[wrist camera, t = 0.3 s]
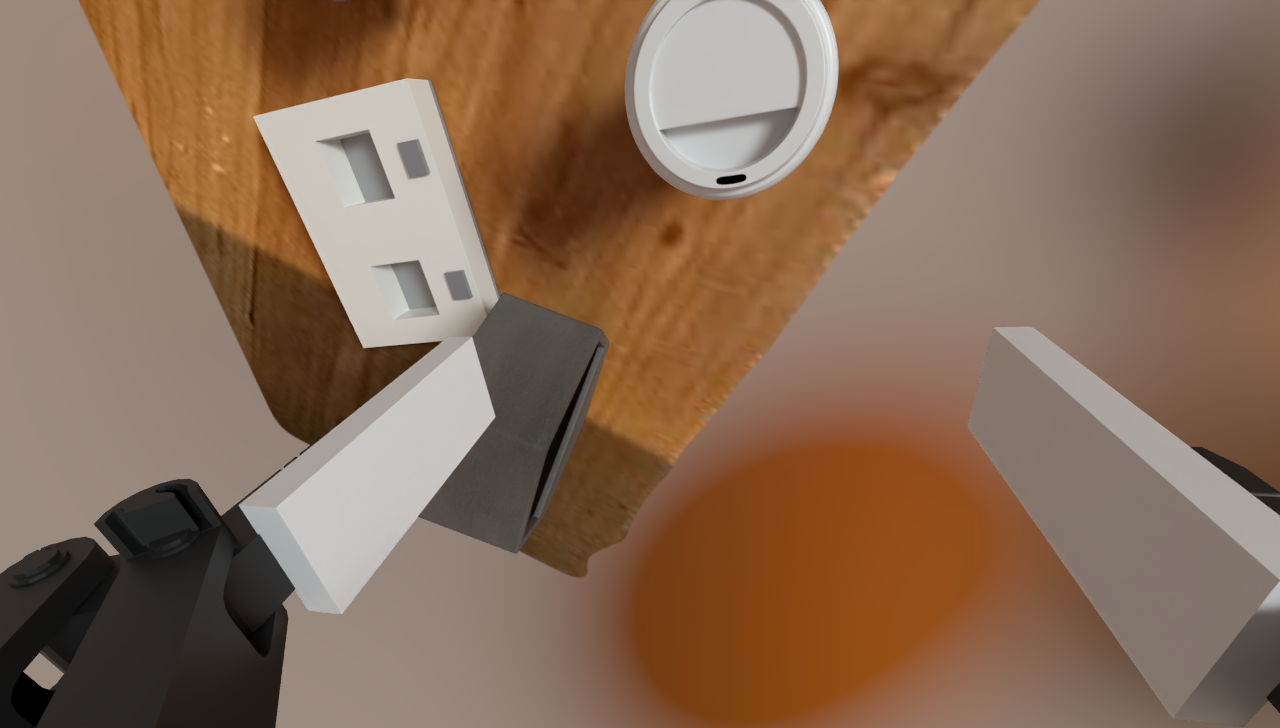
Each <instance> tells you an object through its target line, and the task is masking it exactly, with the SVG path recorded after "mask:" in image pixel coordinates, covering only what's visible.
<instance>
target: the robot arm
mask: <svg viewBox="0 0 1280 728" xmlns="http://www.w3.org/2000/svg"><path fill="white" fill-rule="evenodd" d="M494 418H495V413H494V410H493V407H492V403H491V400H490V396H489V393H488V389H487V386H486V383H485V379H484V376H483V372H482V369H481V366H480V362H479V359H478V355H477V352H476V348H475V345H474V342H473V338H472V337H448V338H446V339H445V340H444V341H443V342H441V343H440V344H439V345H438V346H436V347H435V348H434V349H433V350H431V351H430V352H429V353H428V354H426V355H425V356H424V357H423V358H421V359H420V360H419V361H418V362H416V363H415V364H414V365H413V366H411V367H410V368H409V369H408V370H406V371H405V372H404V373H403V374H401V375H400V376H399V377H398V378H396V379H395V380H394V381H393V382H391V383H390V384H389V385H388V386H386V387H385V388H384V389H383V390H381V391H380V392H379V393H378V394H376V395H375V396H374V397H373V398H371V399H370V400H369V401H368V402H366V403H365V404H364V405H363V406H361V407H360V408H359V409H358V410H356V411H355V412H354V413H353V414H351V415H350V416H349V417H348V418H346V419H345V420H344V421H343V422H341V423H340V424H339V425H338V426H336V427H335V428H334V429H333V430H331V431H330V432H329V433H328V434H326V435H324V436H323V437H321V438H319V439H318V440H316V441H315V442H314V443H313V444H311V445H310V446H309V447H308V448H306V449H305V450H304V451H303V452H301V453H300V456H299V457H295V458H294V459H292V460H291V461H290V462H289V463H287V464H286V465H285V466H284V469H283V470H279V471H277V472H276V473H275V474H274V475H272V476H271V477H270V478H269V479H268V480H266V481H265V482H264V483H262V484H261V485H260V486H259V487H257V488H256V489H255V490H254V491H252V492H251V493H250V494H248V495H247V496H246V497H245V498H243V499H242V500H241V501H240V502H238V503H237V504H236V505H235V506H233V507H232V508H231V509H230V510H228V511H227V512H226V513H225V514H223V515H222V516H220V515H219V513H218V512H217V510H216V509H215V508H214V506H213V505H212V503H211V502H210V500H209V499H208V497H207V496H206V495H205V493H204V492H203V490H202V489H201V487H200V486H199V485H198V483H197V482H195V481H193V480H191V479H177V480H173V481H169V482H165V483H161V484H158V485H155V486H153V487H150V488H148V489H145V490H143V491H140V492H138V493H136V494H134V495H132V496H131V497H129V498H127V499H125V500H123V501H121V502H120V503H118V504H117V505H115V506H114V507H112V508H111V509H110V510H108V511H107V512H105V513H104V514H103V515H102V516H101V517H100V518H99V519H98V521H96V522H95V523H94V525H95V526H96V527H97V528H98V529H99V530H100V532H101V533H102V534H103V535H104V536H105V537H106V538H107V540H108V541H109V542H110V543H111V544H112V545H113V547H114V548H115V549H116V550H117V551H118V552H119V553H120V554H119V555H113V556H108V555H107V553H106V552H105V551H104V550H103V549H102V548H101V547H100V546H99V545H98V543H97V542H96V541H95V540H94V539H91V538H87V537H81V538H73V539H69V540H66V541H63V542H60V543H56V544H51V545H48V546H46V547H43V548H41V550H40V551H39V550H36V551H34V552H32V553H30V554H28V555H27V556H25V557H24V558H23V559H22V560H21V561H19V562H17V563H16V564H14V565H12V566H11V567H9V568H8V569H6V570H5V571H4V572H3V573H1V574H0V728H275V725H276V716H277V708H278V700H279V691H280V684H281V675H282V667H283V659H284V649H285V642H286V634H287V625H288V615H287V610H286V609H285V608H284V606H283V605H282V603H283V602H284V601H285V600H286V598H287V597H288V596H289V595H290V594H291V593H292V592H293V591H294V590H295V591H296V593H297V594H298V596H299V597H300V599H301V600H302V602H303V603H304V605H305V606H306V607H307V609H308V610H311V611H318V612H326V613H335V614H342V613H343V612H344V611H345V609H346V608H347V607H348V605H349V604H350V603H351V601H352V600H353V599H354V598H355V597H356V595H357V594H358V593H359V591H360V590H361V589H362V587H363V586H364V585H365V584H366V582H367V581H368V580H369V579H370V577H371V576H372V574H373V573H374V572H375V571H376V570H377V568H378V567H379V566H380V564H381V563H382V562H383V561H384V559H385V558H386V557H387V555H388V554H389V553H390V552H391V550H392V549H393V548H394V546H395V545H396V544H397V543H398V541H399V540H400V539H401V537H402V536H403V535H404V534H405V532H406V531H407V530H408V528H409V527H410V526H411V525H412V523H413V522H414V521H415V520H416V518H417V517H418V516H419V514H420V513H421V512H422V511H423V509H424V508H425V507H426V505H427V504H428V503H429V502H430V500H431V499H432V498H433V496H434V495H435V494H436V493H437V491H438V490H439V489H440V487H441V486H442V485H443V484H444V482H445V481H446V480H447V478H448V477H449V476H450V475H451V473H452V472H453V471H454V470H455V468H456V467H457V466H458V464H459V463H460V462H461V461H462V459H463V458H464V457H465V455H466V454H467V453H468V452H469V450H470V449H471V448H472V446H473V445H474V444H475V443H476V441H477V440H478V439H479V437H480V436H481V435H482V434H483V432H484V431H485V430H486V428H487V427H488V426H489V425H490V423H491V422H492V421H493V419H494ZM967 427H968V429H969V430H970V432H971V433H972V434H973V436H974V437H975V439H976V440H977V441H978V443H979V444H980V446H981V447H982V449H983V450H984V451H985V453H986V454H987V455H988V457H989V459H990V460H991V461H992V463H993V464H994V466H995V467H996V468H997V470H998V471H999V473H1000V474H1001V476H1002V477H1003V478H1004V480H1005V481H1006V483H1007V484H1008V486H1009V487H1010V488H1011V489H1012V491H1013V493H1014V494H1015V495H1016V497H1017V498H1018V499H1019V501H1020V502H1021V504H1022V505H1023V507H1024V508H1025V510H1026V511H1027V513H1028V514H1029V515H1030V517H1031V518H1032V520H1033V521H1034V522H1035V524H1036V525H1037V527H1038V528H1039V530H1040V531H1041V532H1042V534H1043V535H1044V537H1045V538H1046V540H1047V541H1048V542H1049V544H1050V545H1051V547H1052V548H1053V549H1054V551H1055V552H1056V554H1057V555H1058V557H1059V558H1060V559H1061V561H1062V562H1063V564H1064V565H1065V566H1066V568H1067V569H1068V571H1069V572H1070V574H1071V575H1072V576H1073V578H1074V579H1075V580H1076V582H1077V583H1078V585H1079V586H1080V588H1081V589H1082V591H1083V592H1084V593H1085V595H1086V596H1087V598H1088V599H1089V601H1090V602H1091V603H1092V605H1093V606H1094V608H1095V609H1096V610H1097V612H1098V613H1099V615H1100V616H1101V618H1102V619H1103V620H1104V622H1105V623H1106V625H1107V626H1108V627H1109V629H1110V630H1111V632H1112V633H1113V635H1114V636H1115V637H1116V639H1117V640H1118V642H1119V643H1120V645H1121V646H1122V647H1123V649H1124V650H1125V652H1126V653H1127V654H1128V656H1129V657H1130V659H1131V660H1132V662H1133V663H1134V664H1135V666H1136V667H1137V669H1138V670H1139V671H1140V673H1141V674H1142V676H1143V677H1144V679H1145V680H1146V681H1147V683H1148V684H1149V686H1150V687H1151V689H1152V690H1153V691H1154V693H1155V694H1156V696H1157V697H1158V698H1159V700H1160V701H1161V703H1162V704H1163V706H1164V707H1165V708H1166V710H1167V711H1168V712H1169V714H1170V715H1171V717H1172V718H1175V719H1183V720H1191V721H1200V722H1207V723H1216V724H1223V725H1231V726H1239V727H1244V726H1245V725H1246V724H1247V723H1248V722H1249V721H1250V719H1251V718H1252V717H1253V716H1254V715H1255V714H1256V713H1257V712H1258V711H1259V710H1260V708H1262V707H1263V705H1264V704H1265V703H1266V702H1267V701H1268V700H1269V701H1270V703H1272V705H1273V706H1274V707H1275V708H1276V709H1277V710H1278V712H1279V713H1280V492H1278V491H1277V490H1276V489H1274V488H1273V487H1271V486H1270V485H1268V484H1267V483H1266V482H1264V481H1263V480H1261V479H1260V478H1259V477H1257V476H1256V475H1254V474H1253V473H1252V472H1250V471H1249V470H1248V469H1246V468H1244V467H1242V466H1240V465H1238V464H1236V463H1234V462H1232V461H1230V460H1228V459H1226V458H1224V457H1221V456H1219V455H1217V454H1215V453H1213V452H1211V451H1209V450H1207V449H1205V448H1203V447H1189V446H1188V445H1186V444H1185V443H1184V442H1182V441H1181V440H1180V439H1179V438H1177V437H1176V436H1175V435H1173V434H1172V433H1171V432H1169V431H1168V430H1167V429H1165V428H1164V427H1163V426H1161V425H1160V424H1159V423H1157V422H1156V421H1155V420H1154V419H1152V418H1151V417H1150V416H1148V415H1147V414H1146V413H1144V412H1143V411H1142V410H1141V409H1139V408H1138V407H1136V406H1135V405H1134V404H1133V403H1131V402H1130V401H1129V400H1127V399H1126V398H1125V397H1123V396H1122V395H1121V394H1119V393H1118V392H1117V391H1116V390H1114V389H1113V388H1111V387H1110V386H1109V385H1108V384H1106V383H1105V382H1104V381H1102V380H1101V379H1100V378H1098V377H1097V376H1096V375H1094V374H1093V373H1092V372H1091V371H1089V370H1088V369H1087V368H1085V367H1084V366H1083V365H1081V364H1080V363H1079V362H1077V361H1076V360H1075V359H1073V358H1072V357H1071V356H1070V355H1068V354H1067V353H1066V352H1064V351H1063V350H1062V349H1060V348H1059V347H1058V346H1056V345H1055V344H1054V343H1052V342H1051V341H1050V340H1049V339H1047V338H1046V337H1045V336H1043V335H1042V334H1041V333H1039V332H1038V331H1037V330H1036V329H1034V328H1033V327H994V328H993V331H992V334H991V338H990V342H989V346H988V350H987V353H986V357H985V361H984V365H983V368H982V372H981V376H980V380H979V383H978V388H977V391H976V395H975V399H974V402H973V407H972V410H971V414H970V418H969V421H968V425H967ZM39 652H40V653H41V654H42V655H43V656H44V657H45V658H47V659H48V660H49V661H50V662H51V663H52V664H54V665H55V666H56V667H57V668H58V669H59V670H60V671H62V672H63V673H64V675H63V676H62V677H61V679H60V680H59V681H58V683H57V684H56V685H54V686H53V687H52V688H51V689H50V690H48V689H45V688H42V687H41V686H40V685H38V684H37V683H36V682H35V681H34V680H32V679H31V678H30V677H28V675H26V674H25V673H24V672H23V671H24V670H25V669H26V667H27V666H28V665H29V664H30V663H31V662H32V661H33V659H34V658H35V657H36V656H37V655H38V654H39Z"/></svg>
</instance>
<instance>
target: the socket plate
mask: <svg viewBox="0 0 1280 728" xmlns="http://www.w3.org/2000/svg"><path fill="white" fill-rule="evenodd" d="M253 118H254V120H255V122H256V124H257V126H258V128H259V130H260V132H261V134H262V136H263V139H264V141H265V143H266V145H267V147H268V149H269V151H270V153H271V155H272V157H273V160H274V162H275V164H276V166H277V168H278V170H279V172H280V174H281V176H282V178H283V180H284V183H285V185H286V187H287V189H288V191H289V193H290V195H291V197H292V199H293V201H294V204H295V206H296V208H297V210H298V212H299V214H300V216H301V218H302V220H303V222H304V224H305V227H306V229H307V231H308V233H309V235H310V237H311V239H312V241H313V243H314V245H315V248H316V250H317V252H318V254H319V256H320V258H321V260H322V262H323V264H324V266H325V269H326V271H327V273H328V275H329V277H330V279H331V281H332V283H333V285H334V287H335V289H336V292H337V294H338V296H339V298H340V300H341V302H342V304H343V306H344V308H345V310H346V313H347V315H348V317H349V319H350V321H351V323H352V325H353V327H354V329H355V331H356V333H357V336H358V338H359V340H360V342H361V344H362V346H363V348H369V347H381V346H392V345H403V344H414V343H425V342H436V341H444V340H445V339H446V338H448V337H473V336H474V334H475V333H476V331H477V330H478V329H479V327H480V326H481V324H482V323H483V321H484V320H485V318H486V317H487V316H488V314H489V313H490V311H491V310H492V308H493V307H494V305H495V304H496V303H497V301H498V300H499V298H500V296H499V293H498V290H497V287H496V283H495V280H494V277H493V274H492V271H491V268H490V265H489V261H488V258H487V255H486V252H485V249H484V246H483V243H482V239H481V236H480V233H479V230H478V227H477V224H476V221H475V217H474V214H473V211H472V208H471V205H470V202H469V199H468V195H467V192H466V189H465V186H464V183H463V180H462V177H461V173H460V170H459V167H458V164H457V161H456V158H455V155H454V151H453V148H452V145H451V142H450V139H449V136H448V133H447V129H446V126H445V123H444V120H443V117H442V114H441V111H440V107H439V104H438V101H437V98H436V95H435V92H434V89H433V85H432V82H431V80H419V79H408V78H407V79H402V80H398V81H394V82H390V83H386V84H382V85H378V86H374V87H370V88H366V89H362V90H358V91H354V92H350V93H346V94H342V95H338V96H334V97H330V98H326V99H322V100H318V101H314V102H310V103H305V104H301V105H297V106H293V107H289V108H285V109H281V110H277V111H273V112H269V113H265V114H261V115H257V116H253Z"/></svg>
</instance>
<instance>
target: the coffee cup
mask: <svg viewBox="0 0 1280 728" xmlns="http://www.w3.org/2000/svg"><path fill="white" fill-rule="evenodd" d="M838 66H839V65H838V50H837V44H836V39H835V34H834V31H833V27H832V24H831V22H830V19H829V17H828V14H827V12H826V10H825V8H824V6H823V5H822V3H821V1H820V0H656V1H655V2H654V4H653V5H652V6H651V8H650V9H649V11H648V12H647V14H646V16H645V17H644V19H643V21H642V23H641V24H640V26H639V29H638V31H637V33H636V35H635V38H634V40H633V43H632V46H631V49H630V53H629V57H628V61H627V67H626V74H625V106H626V112H627V118H628V122H629V126H630V129H631V132H632V135H633V137H634V140H635V142H636V144H637V146H638V148H639V150H640V152H641V154H642V155H643V157H644V158H645V160H646V161H647V162H648V164H649V165H650V166H651V167H652V169H653V170H654V171H655V172H656V173H657V174H658V175H659V176H660V177H661V178H663V179H664V180H665V181H666V182H668V183H669V184H670V185H672V186H673V187H675V188H677V189H679V190H681V191H683V192H685V193H687V194H690V195H692V196H696V197H699V198H704V199H710V200H733V199H739V198H744V197H748V196H751V195H754V194H757V193H759V192H762V191H764V190H766V189H768V188H770V187H772V186H773V185H775V184H777V183H778V182H780V181H781V180H783V179H784V178H785V177H787V176H788V175H789V174H790V173H791V172H792V171H794V170H795V169H796V168H797V167H798V166H799V165H800V164H801V163H802V161H803V160H804V159H805V158H806V157H807V156H808V154H809V153H810V152H811V150H812V149H813V147H814V146H815V144H816V143H817V141H818V140H819V138H820V136H821V134H822V132H823V130H824V128H825V126H826V124H827V122H828V119H829V116H830V114H831V111H832V107H833V104H834V100H835V96H836V90H837V83H838Z"/></svg>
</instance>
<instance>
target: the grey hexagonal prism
mask: <svg viewBox="0 0 1280 728" xmlns="http://www.w3.org/2000/svg"><path fill="white" fill-rule="evenodd" d="M472 338H473V342H474V345H475V348H476V352H477V355H478V359H479V362H480V366H481V369H482V372H483V376H484V379H485V383H486V386H487V389H488V393H489V396H490V400H491V403H492V407H493V410H494V413H495V418H494V419H493V421H492V422H491V423H490V425H489V426H488V427H487V428H486V430H485V431H484V432H483V434H482V435H481V436H480V437H479V439H478V440H477V441H476V443H475V444H474V445H473V446H472V448H471V449H470V450H469V452H468V453H467V454H466V455H465V457H464V458H463V459H462V461H461V462H460V463H459V464H458V466H457V467H456V468H455V470H454V471H453V472H452V473H451V475H450V476H449V477H448V478H447V480H446V481H445V482H444V484H443V485H442V486H441V487H440V489H439V490H438V491H437V493H436V494H435V495H434V496H433V498H432V499H431V500H430V502H429V503H428V504H427V505H426V507H425V508H424V509H423V511H422V512H421V513H420V514H419V516H418V517H420V518H423V519H425V520H428V521H431V522H433V523H436V524H439V525H441V526H444V527H446V528H449V529H452V530H455V531H457V532H460V533H462V534H465V535H467V536H470V537H473V538H475V539H478V540H481V541H483V542H486V543H489V544H491V545H494V546H496V547H499V548H502V549H504V550H507V551H510V552H513V553H515V554H516V553H518V551H519V550H520V549H521V547H522V546H523V544H524V543H525V542H526V540H527V539H528V537H529V536H530V535H531V533H532V532H533V530H534V529H535V528H536V526H537V525H538V523H539V522H540V520H541V519H542V518H543V516H544V514H545V512H546V509H547V507H548V505H549V502H550V500H551V498H552V495H553V493H554V491H555V488H556V486H557V484H558V482H559V479H560V477H561V475H562V472H563V470H564V468H565V465H566V463H567V461H568V458H569V456H570V454H571V452H572V449H573V447H574V445H575V442H576V440H577V438H578V435H579V433H580V431H581V428H582V426H583V423H584V420H585V417H586V414H587V411H588V408H589V405H590V402H591V399H592V396H593V393H594V390H595V386H596V383H597V380H598V377H599V374H600V371H601V368H602V365H603V362H604V359H605V356H606V352H607V349H608V346H609V342H608V340H607V338H606V336H605V334H604V332H603V331H602V330H601V329H599V328H596V327H594V326H591V325H588V324H586V323H583V322H580V321H578V320H575V319H572V318H570V317H567V316H564V315H562V314H559V313H556V312H554V311H551V310H548V309H546V308H543V307H540V306H538V305H535V304H532V303H530V302H527V301H524V300H522V299H519V298H516V297H514V296H511V295H509V294H506V293H503V294H502V295H501V297H500V298H499V300H498V301H497V303H496V304H495V305H494V307H493V308H492V310H491V311H490V313H489V314H488V316H487V317H486V318H485V320H484V321H483V323H482V324H481V326H480V327H479V329H478V330H477V331H476V333H475V334H474V336H473V337H472Z"/></svg>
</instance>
